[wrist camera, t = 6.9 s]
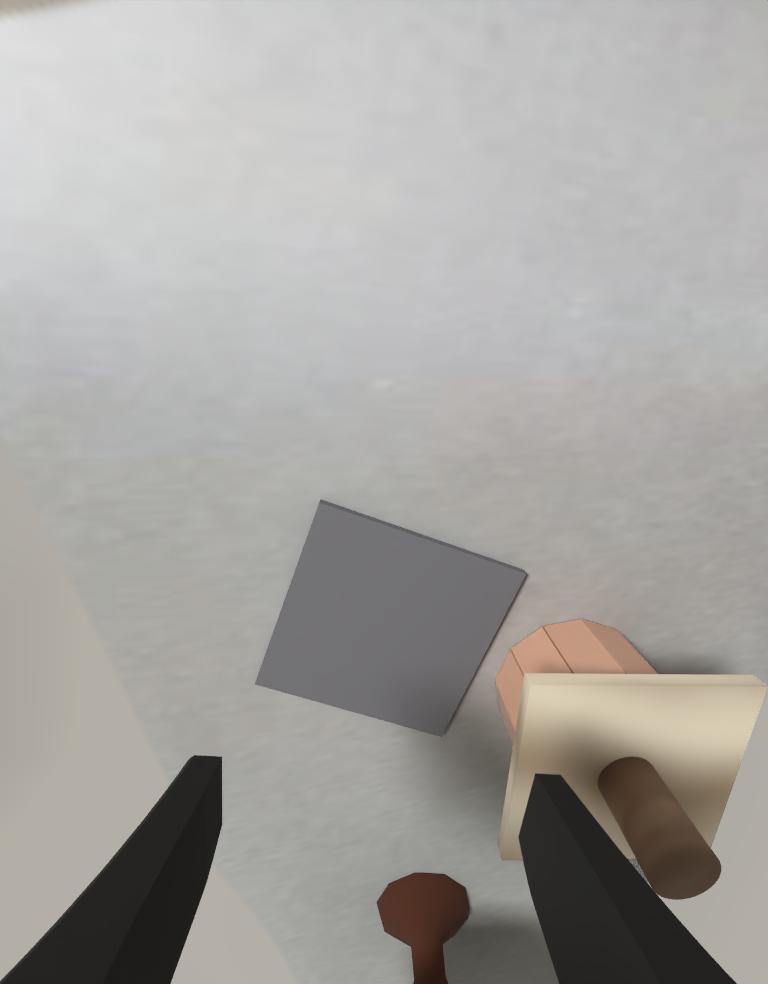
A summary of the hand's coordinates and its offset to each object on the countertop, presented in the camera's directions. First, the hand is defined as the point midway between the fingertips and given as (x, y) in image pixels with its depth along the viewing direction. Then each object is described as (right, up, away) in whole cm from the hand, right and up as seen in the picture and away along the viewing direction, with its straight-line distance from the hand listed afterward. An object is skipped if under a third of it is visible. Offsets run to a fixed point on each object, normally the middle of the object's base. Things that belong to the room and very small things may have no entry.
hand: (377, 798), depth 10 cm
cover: (+9, -4, +7) cm, 12 cm away
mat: (0, +1, +10) cm, 10 cm away
